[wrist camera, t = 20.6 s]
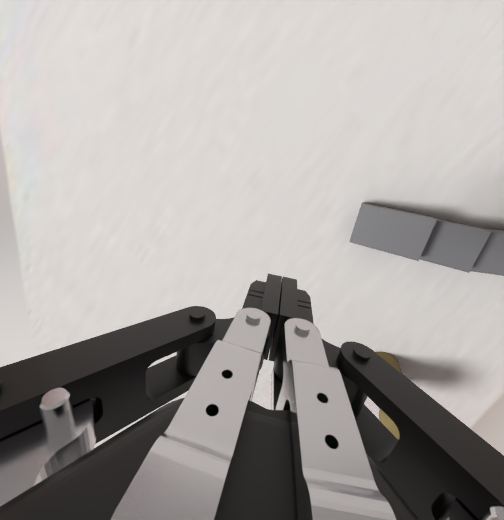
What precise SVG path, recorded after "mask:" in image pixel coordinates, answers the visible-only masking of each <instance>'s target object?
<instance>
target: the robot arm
mask: <svg viewBox="0 0 504 520" xmlns="http://www.w3.org/2000/svg"><path fill="white" fill-rule="evenodd" d="M281 280H282V282H281ZM269 350H270V354H269ZM174 352H177V355H176V356H174V357H172V358H170V359H167V360H165V361H163V362H161V363H158V364H156V365H154V366H152V367H150V368H148V367H149V366H150V365H151V364H152V363H153V362H155V361H156V360H159V359H161V358H163V357H165V356H168V355H170V354H172V353H174ZM268 354H269V360H270V361H274V368H273V372H272V376H271V410H268V409H265V408H263V407H261V406H260V405H258V404H256V403H254V402H252V397H253V394H254V390H255V386H256V382H257V378H258V375H259V370H260V369H261V367H262V364H263V360H264V359H266V360H267V358H268ZM188 390H189V391H188ZM187 391H188V393H187V395H186V396H185V398H182V399H179V400H176V401H173V402H171V403H169V404H166V403H167V402H169V401H171V400H173V399H174V398H176V397H178V396H180V395H181V394H183V393H185V392H187ZM367 396H368V397H369V398H370V399H371V400H372V401H373V402H374V403H375V404H376V405H377V406H378V407H379V408H380V409H381V410H382V411H383V412H384V413H385V414H386V415H387V416H388V417H389V418H390V419H391V420H392V421H393V422H394V423H395V425H396V426H397V428H398V431H399V435H400V437H399V440H398V439H397V438H396V437H395V436H394V435H393V434H392V433H391V432H390V431H389V430H388V429H387V428H386V427H385V426H384V425H383V424H382V423H381V422H380V421H379V419H378V418H377V417H376V416H375V415H374V414H373V413H372V412H371V411H370V410H369V409H368V408H367V407H366V406H365V405H364V402H365V400H366V398H367ZM164 404H166V405H165V406H163V407H161V408H159V407H160V406H162V405H164ZM157 408H159V409H158V410H156V411H154V412H153V413H151V414H150V415H148V416H146V417H145V418H143V419H141V420H140V421H138V422H137V423H135V424H133V425H132V426H130V427H128V428H127V429H125V430H124V431H122V432H120V433H119V434H117V435H116V436H114V437H112V438H111V439H109V440H107V441H106V442H104V443H103V444H101V445H99V446H98V447H96V448H94V445H95V444H96V443H98V442H99V441H101V440H103V439H105V438H106V437H108V436H110V435H112V434H113V433H115V432H117V431H119V430H120V429H122V428H124V427H126V426H127V425H129V424H131V423H132V422H134V421H136V420H138V419H139V418H141V417H143V416H145V415H146V414H148V413H150V412H152V411H153V410H155V409H157ZM93 448H94V449H93ZM0 520H504V456H503V455H502V454H501V453H500V452H498V451H497V450H496V449H494V448H493V447H492V446H491V445H490V444H488V443H487V442H486V441H485V440H483V439H482V438H481V437H480V436H478V435H477V434H476V433H475V432H473V431H472V430H471V429H470V428H469V427H467V426H466V425H465V424H464V423H462V422H461V421H460V420H459V419H457V418H456V417H455V416H454V415H452V414H451V413H450V412H449V411H447V410H446V409H445V408H444V407H442V406H441V405H440V404H439V403H437V402H436V401H435V400H434V399H432V398H431V397H430V396H429V395H427V394H426V393H425V392H424V391H423V390H421V389H420V388H419V387H418V386H416V385H415V384H414V383H413V382H411V381H410V380H409V379H408V378H406V377H405V376H404V375H403V374H401V373H400V372H399V371H398V370H396V369H395V368H394V367H393V366H391V365H390V364H389V363H388V362H386V361H385V360H384V359H383V358H382V357H380V356H379V355H378V354H377V353H375V352H374V351H373V350H371V349H370V348H368V347H367V346H365V345H363V344H360V343H357V342H346V343H344V344H342V346H341V348H339V347H336V346H334V345H332V344H330V343H328V342H326V341H324V340H323V339H322V338H321V335H320V332H319V330H318V328H317V327H316V326H315V325H314V324H313V316H312V309H311V301H310V296H309V295H308V294H307V292H306V291H303V290H299V289H297V280H296V279H291V278H287V277H283V278H282V276H277V275H272V274H268V277H267V281H266V282H261V281H257V280H256V281H255V282H253V283H252V284H251V285H250V288H249V291H248V294H247V296H246V299H245V302H244V305H243V308H242V309H241V310H239V311H238V312H237V314H236V315H235V317H234V318H230V319H216V316H215V314H214V312H213V311H211V310H210V309H208V308H205V307H201V306H193V307H188V308H185V309H182V310H179V311H175V312H172V313H169V314H166V315H163V316H160V317H157V318H153V319H150V320H147V321H144V322H141V323H138V324H135V325H132V326H128V327H125V328H122V329H119V330H116V331H113V332H110V333H106V334H103V335H100V336H97V337H94V338H91V339H88V340H85V341H81V342H78V343H75V344H72V345H69V346H66V347H63V348H60V349H56V350H53V351H50V352H47V353H44V354H41V355H38V356H34V357H31V358H28V359H25V360H22V361H19V362H16V363H13V364H10V365H6V366H3V367H0Z"/></svg>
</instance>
